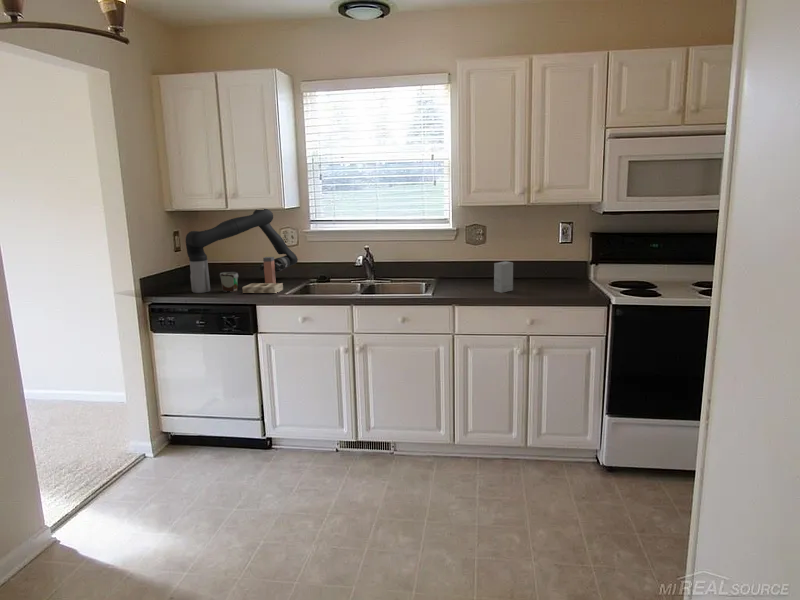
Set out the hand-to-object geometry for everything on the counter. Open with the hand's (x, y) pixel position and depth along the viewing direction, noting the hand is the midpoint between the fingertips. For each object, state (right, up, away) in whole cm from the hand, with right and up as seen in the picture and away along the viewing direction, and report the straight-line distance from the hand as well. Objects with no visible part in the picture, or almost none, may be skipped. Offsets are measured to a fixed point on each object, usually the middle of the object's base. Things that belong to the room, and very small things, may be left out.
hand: (268, 268), depth 312 cm
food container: (-19, -13, -3) cm, 23 cm away
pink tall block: (0, -10, +4) cm, 11 cm away
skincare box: (+126, -13, -26) cm, 130 cm away
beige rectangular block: (-1, -13, -8) cm, 15 cm away
